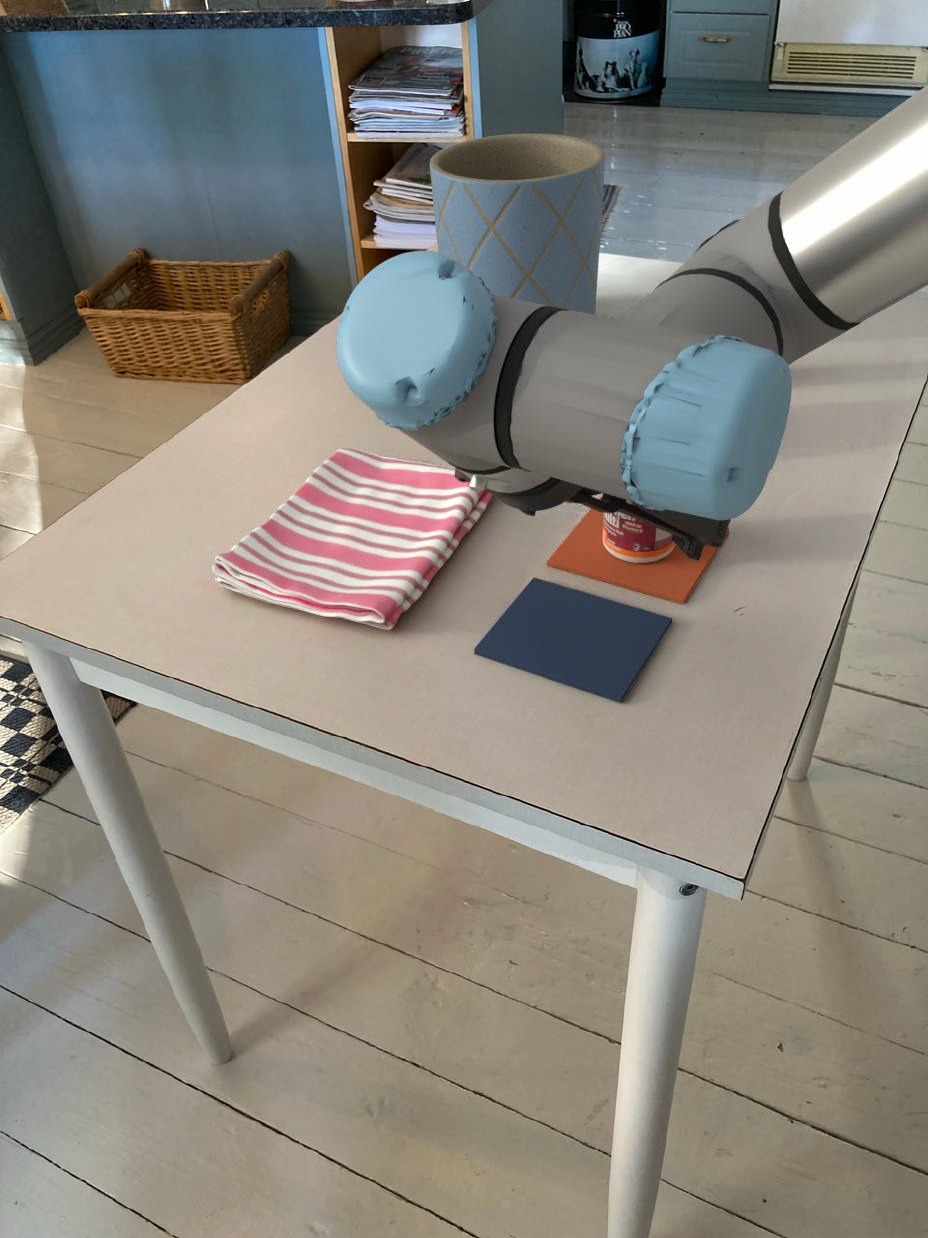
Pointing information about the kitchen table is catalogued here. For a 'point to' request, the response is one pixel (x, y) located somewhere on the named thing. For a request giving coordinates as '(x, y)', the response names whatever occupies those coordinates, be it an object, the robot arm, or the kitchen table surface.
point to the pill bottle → (635, 539)
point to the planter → (523, 215)
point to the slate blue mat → (575, 638)
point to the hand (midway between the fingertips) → (614, 520)
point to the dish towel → (355, 539)
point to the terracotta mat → (629, 563)
